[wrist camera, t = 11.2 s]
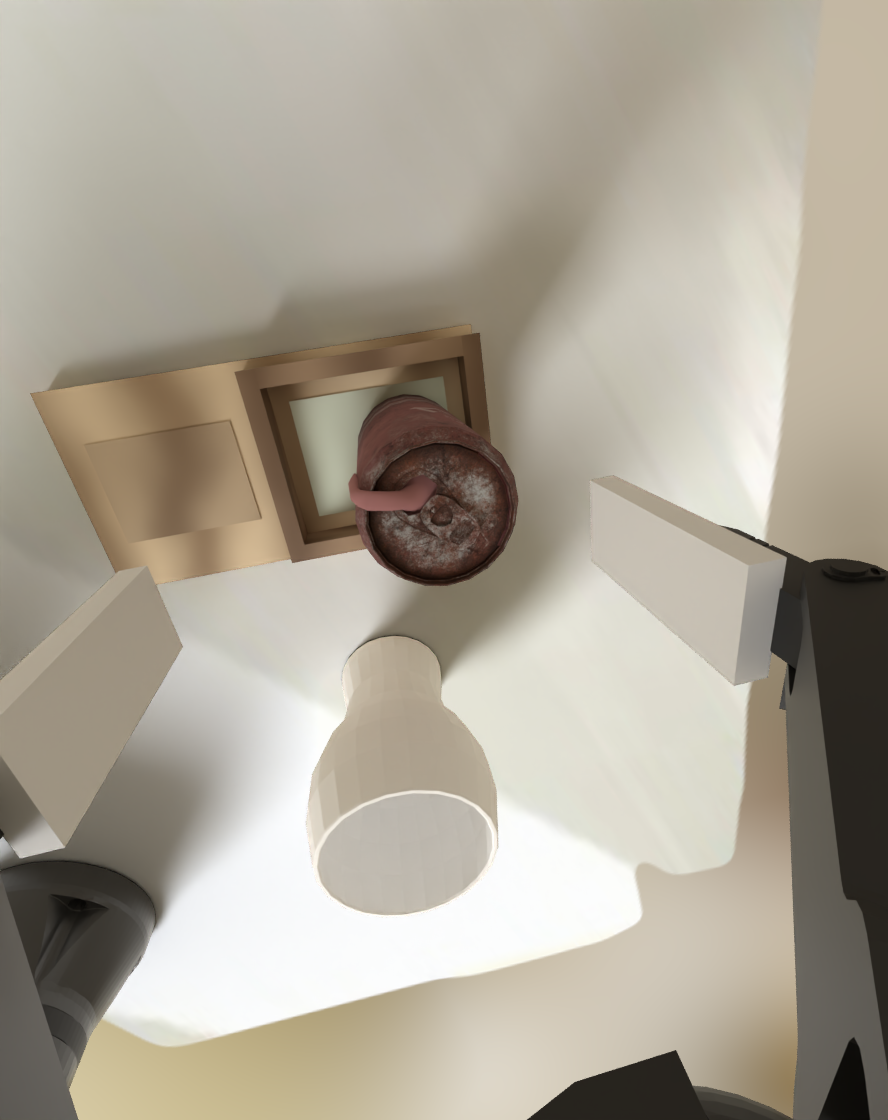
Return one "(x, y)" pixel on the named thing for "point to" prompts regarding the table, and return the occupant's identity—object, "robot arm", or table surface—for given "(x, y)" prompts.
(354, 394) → the holder board
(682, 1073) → the robot arm
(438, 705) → the cup
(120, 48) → the table surface
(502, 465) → the can
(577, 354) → the table surface
